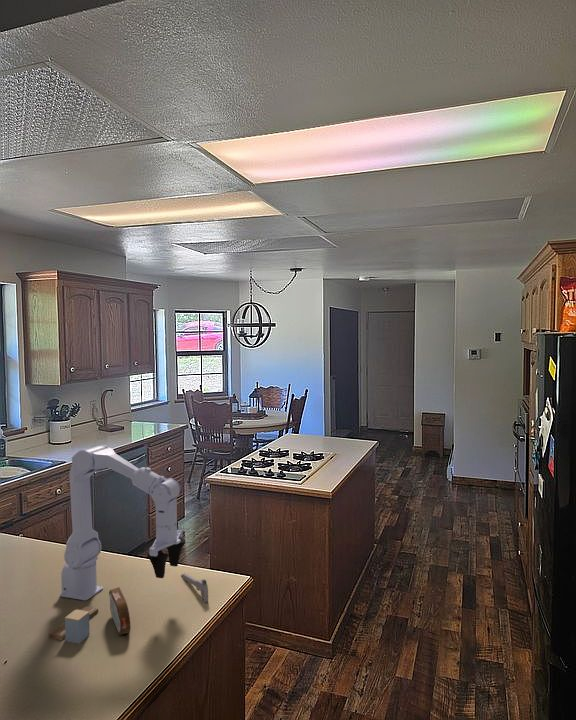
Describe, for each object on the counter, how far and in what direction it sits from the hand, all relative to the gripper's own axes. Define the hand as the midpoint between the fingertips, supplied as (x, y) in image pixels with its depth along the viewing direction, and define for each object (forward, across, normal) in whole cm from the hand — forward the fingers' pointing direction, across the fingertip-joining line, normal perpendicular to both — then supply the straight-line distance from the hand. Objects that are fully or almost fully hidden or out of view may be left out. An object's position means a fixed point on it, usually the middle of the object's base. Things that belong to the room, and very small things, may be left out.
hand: (167, 571), depth 146 cm
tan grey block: (+10, -20, +14) cm, 26 cm away
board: (+10, -15, +19) cm, 26 cm away
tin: (+10, -12, +7) cm, 18 cm away
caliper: (+11, +12, -2) cm, 16 cm away
